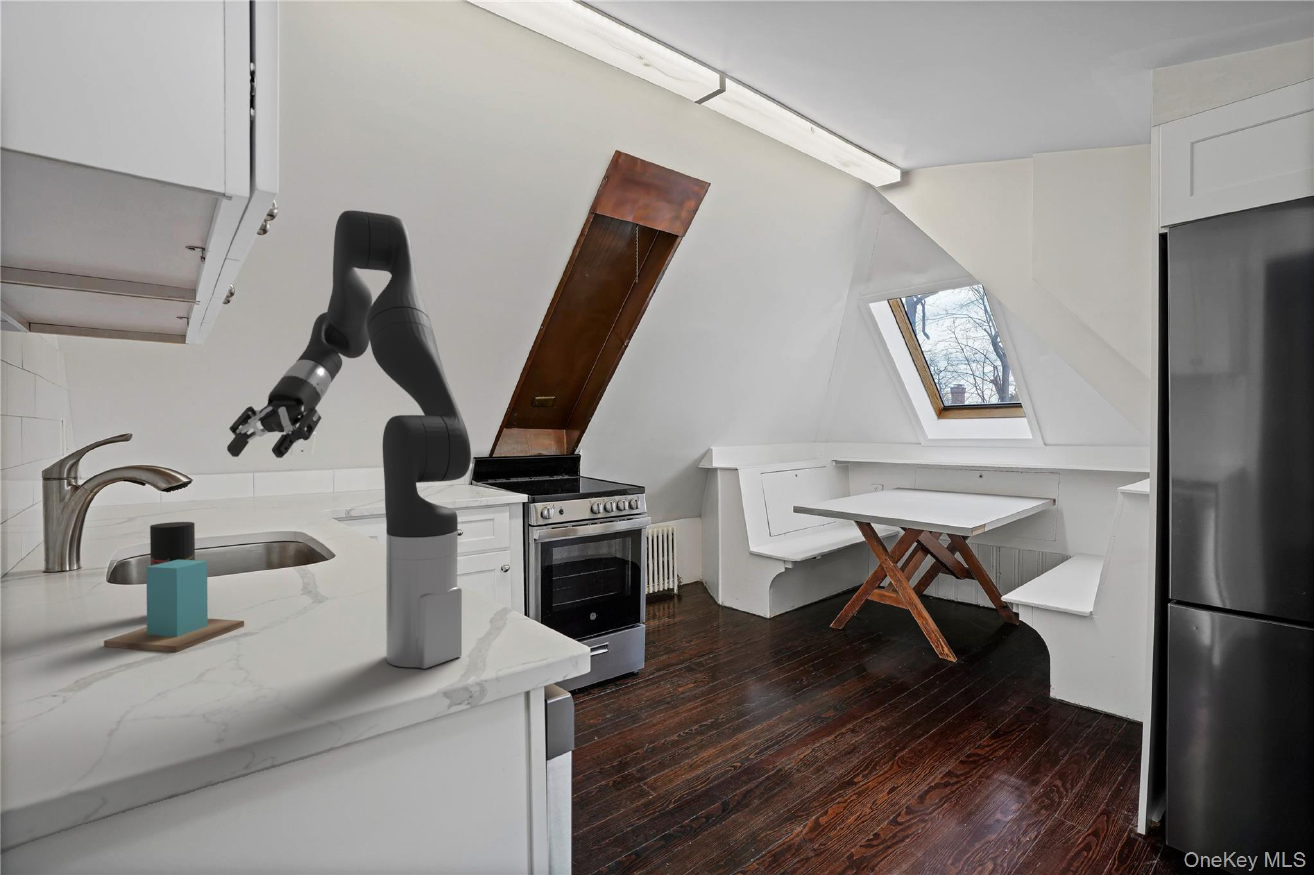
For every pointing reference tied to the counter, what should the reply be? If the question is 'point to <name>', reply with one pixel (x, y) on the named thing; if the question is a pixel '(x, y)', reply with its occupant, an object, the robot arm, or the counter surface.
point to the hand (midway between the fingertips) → (253, 454)
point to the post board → (170, 643)
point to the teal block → (176, 597)
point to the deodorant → (172, 542)
